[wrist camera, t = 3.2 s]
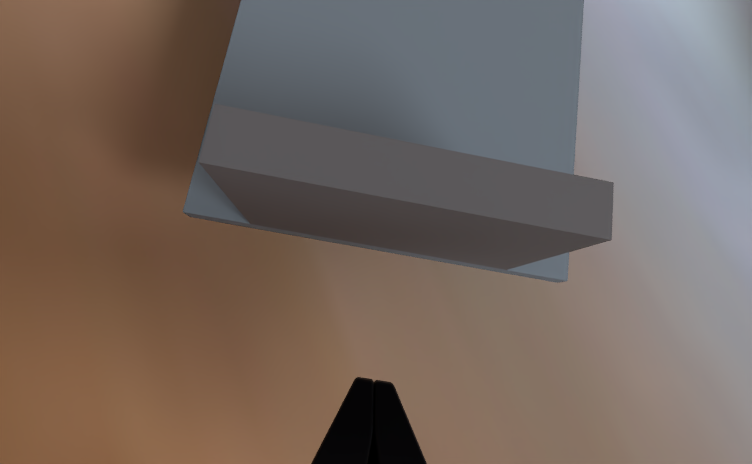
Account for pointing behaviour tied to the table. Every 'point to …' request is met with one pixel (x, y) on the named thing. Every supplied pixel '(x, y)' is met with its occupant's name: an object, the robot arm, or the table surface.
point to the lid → (406, 131)
